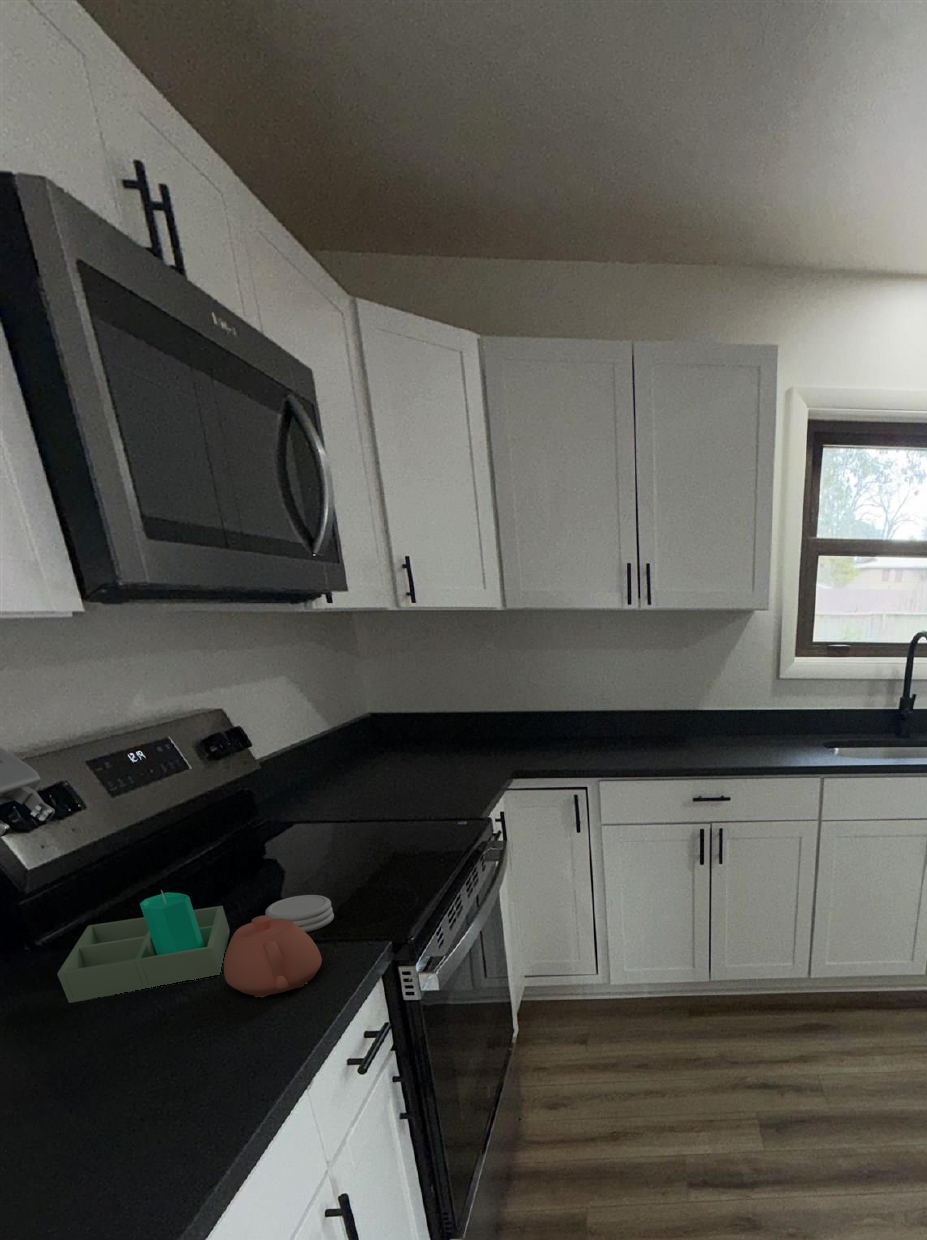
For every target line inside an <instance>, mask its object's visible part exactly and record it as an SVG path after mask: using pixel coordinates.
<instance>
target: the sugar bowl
mask: <svg viewBox="0 0 927 1240" xmlns="http://www.w3.org/2000/svg"><path fill="white" fill-rule="evenodd" d="M322 961H323V959H322V955H321V952H320V949H319V948H318V946H317V944H316V943H315V942H314V940H313V939H312V937H310V935H309V934H308V932H306V933H305V932H304V931H303V930H302V929H301V928H300V927H299V926H297V925H296V924H295V923H293V922H292V921H290V920H287V919H282V918H272V917H271V916H266V914H265V915H259V916H256V917H254V918H252V919H251V922H249V923H246V924H244V925H242V926H240V927H239V928H237V929H236V930H235V932H234V933H233V935H232V936H231V939H230V941H229V943H228V945H227V947H226V952H225V957H224V961H223V975H224V979H225V982H226V984H228V985H229V986H230V987H231V988H233V989H235V990H237V991H239V992H241V993H243V994H246V995H250V996H254V998H257V997H261V998H265V997H267V996H270V995H276V994H280V993H284V992H288V991H292V990H294V989H300V987H301V988H303V987H302V986H304V984H307V985H308V982H310V981H311V980H312V979H313V978H314V977H315V975H316V974H317V972H318V971H319V969H320V968H321V965H322ZM304 987H305V986H304Z"/></svg>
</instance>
